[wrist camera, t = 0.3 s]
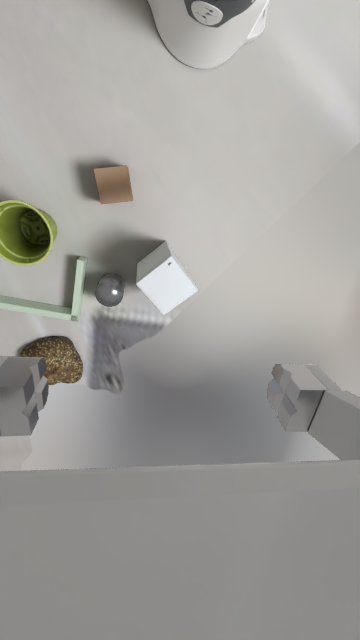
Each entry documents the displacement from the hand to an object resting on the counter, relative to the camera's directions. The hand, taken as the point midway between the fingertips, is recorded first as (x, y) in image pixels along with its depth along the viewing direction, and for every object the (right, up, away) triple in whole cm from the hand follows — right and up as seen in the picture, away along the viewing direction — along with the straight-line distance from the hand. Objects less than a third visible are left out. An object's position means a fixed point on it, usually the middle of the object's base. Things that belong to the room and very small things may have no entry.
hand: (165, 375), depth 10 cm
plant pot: (-25, +19, +39) cm, 50 cm away
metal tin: (-13, +9, +45) cm, 48 cm away
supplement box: (-3, +13, +45) cm, 47 cm away
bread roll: (-28, -7, +51) cm, 58 cm away
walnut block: (-10, +25, +37) cm, 46 cm away
